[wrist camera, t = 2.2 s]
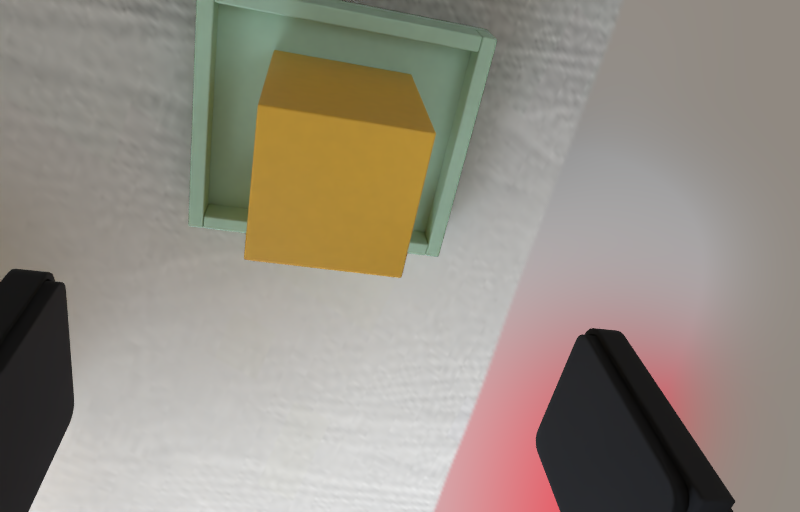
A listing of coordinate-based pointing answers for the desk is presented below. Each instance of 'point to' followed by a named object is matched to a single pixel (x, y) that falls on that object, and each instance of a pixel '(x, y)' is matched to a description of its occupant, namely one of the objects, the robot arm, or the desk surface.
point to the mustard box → (336, 166)
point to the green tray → (340, 41)
